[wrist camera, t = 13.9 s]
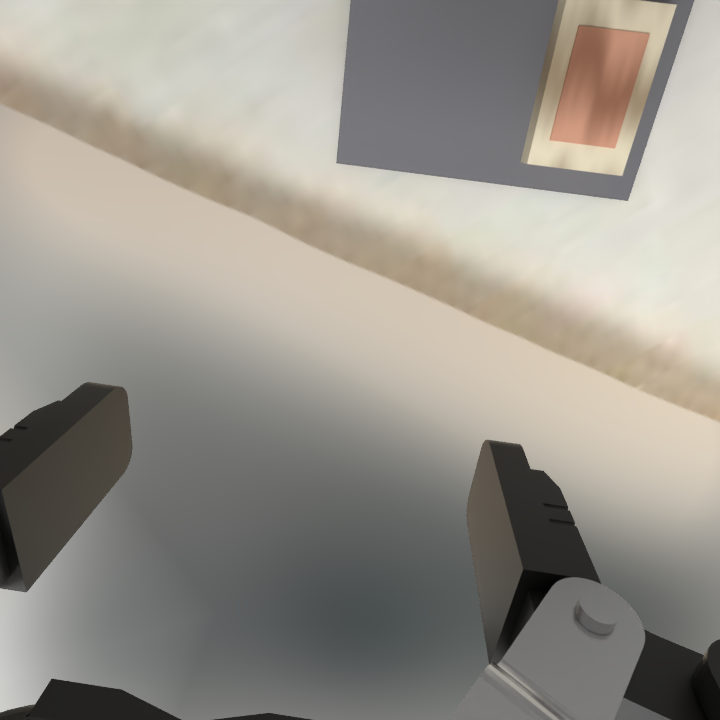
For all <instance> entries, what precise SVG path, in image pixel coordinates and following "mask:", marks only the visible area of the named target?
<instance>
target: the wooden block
mask: <svg viewBox="0 0 720 720" xmlns="http://www.w3.org/2000/svg"><path fill="white" fill-rule="evenodd" d="M676 6H677V5H675V4H667V3H658V2H650V1H641V0H558V5H557V9H556V13H555V17H554V22H553V26H552V30H551V34H550V39H549V43H548V47H547V51H546V56H545V60H544V64H543V68H542V73H541V77H540V81H539V86H538V90H537V94H536V98H535V103H534V107H533V111H532V115H531V120H530V124H529V128H528V132H527V137H526V141H525V145H524V149H523V154H522V158H521V162H522V163H526V164H531V165H539V166H547V167H555V168H563V169H571V170H578V171H586V172H594V173H602V174H610V175H618V176H622V175H623V172H624V169H625V166H626V163H627V159H628V156H629V153H630V150H631V147H632V144H633V141H634V138H635V134H636V131H637V128H638V125H639V122H640V119H641V116H642V113H643V109H644V106H645V103H646V100H647V97H648V94H649V91H650V87H651V84H652V81H653V78H654V75H655V72H656V69H657V66H658V62H659V59H660V56H661V53H662V50H663V47H664V44H665V41H666V37H667V34H668V31H669V28H670V25H671V22H672V19H673V15H674V12H675V9H676Z"/></svg>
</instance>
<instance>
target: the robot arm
mask: <svg viewBox="0 0 720 720" xmlns="http://www.w3.org/2000/svg"><path fill="white" fill-rule="evenodd" d="M131 454H132V437H131V427H130V416H129V406H128V397H127V393H126V391H125V389H124V388H123V387H118V386H112V385H104V384H98V383H90V382H87V383H84V384H83V385H81V386H80V387H79V388H77V389H76V390H75V391H74V392H72V393H71V394H70V395H69V396H67V397H66V398H65V399H64V400H62V401H56V402H54V403H51V404H49V405H47V406H44V407H42V408H40V409H37V410H35V411H33V412H32V413H30V414H29V415H28V416H26V417H25V418H24V419H22V420H21V421H20V422H18V423H17V424H16V425H15V426H14V429H11V428H10V429H9V430H8V431H7V432H5V433H4V434H3V435H1V436H0V588H2V589H8V590H15V591H22V592H27V591H28V590H29V589H30V587H31V586H32V585H33V584H34V582H35V581H36V580H37V579H38V578H39V576H40V575H41V574H42V573H43V571H44V570H45V569H46V568H47V567H48V565H49V564H50V563H51V562H52V560H53V559H54V558H55V557H56V555H57V554H58V553H59V552H60V551H61V549H62V548H63V547H64V546H65V545H66V543H67V542H68V541H69V540H70V538H71V537H72V536H73V535H74V534H75V532H76V531H77V530H78V529H79V527H80V526H81V525H82V524H83V522H84V521H85V520H86V519H87V518H88V516H89V515H90V514H91V513H92V511H93V510H94V509H95V508H96V507H97V505H98V504H99V503H100V502H101V500H102V499H103V498H104V497H105V496H106V494H107V493H108V492H109V491H110V489H111V488H112V487H113V486H114V485H115V483H116V482H117V481H118V480H119V478H120V477H121V476H122V475H123V473H124V472H125V470H126V469H127V466H128V464H129V462H130V458H131ZM574 524H575V522H574V520H573V517H572V515H571V513H570V511H568V506H567V503H566V501H565V499H564V496H563V494H562V492H561V490H560V488H559V487H558V486H557V485H556V484H555V483H554V482H553V481H552V479H551V478H550V477H549V476H548V475H547V474H546V473H545V472H544V471H540V470H532V469H530V466H529V464H528V461H527V458H526V456H525V453H524V450H523V448H522V446H521V445H520V444H513V443H506V442H499V441H492V440H485V441H484V443H483V445H482V448H481V451H480V456H479V459H478V463H477V467H476V470H475V474H474V478H473V482H472V485H471V490H470V493H469V498H468V505H467V526H468V532H469V538H470V545H471V551H472V557H473V564H474V571H475V577H476V583H477V590H478V596H479V602H480V609H481V615H482V622H483V628H484V634H485V641H486V647H487V653H488V659H489V665H488V666H487V668H486V669H485V670H484V671H483V673H482V674H481V675H480V677H479V678H478V679H477V681H476V682H475V684H474V685H473V686H472V688H471V689H470V691H469V692H468V693H467V695H466V696H465V698H464V699H463V701H462V702H461V703H460V705H459V706H458V708H457V709H456V711H455V712H454V713H453V715H452V716H451V717H450V719H449V720H720V640H717V641H715V642H714V643H712V644H711V645H710V647H709V648H708V650H707V652H706V653H705V655H702V654H699V653H697V652H695V651H692V650H690V649H687V648H685V647H682V646H680V645H678V644H675V643H673V642H671V641H668V640H666V639H663V638H661V637H659V636H656V635H654V634H652V633H650V632H648V631H646V630H644V628H643V625H642V623H641V621H640V619H639V617H638V615H637V614H636V612H635V611H634V610H633V609H632V607H631V606H630V605H629V604H628V603H627V602H626V601H625V600H624V599H623V598H622V597H620V596H619V595H618V594H617V593H615V592H613V591H612V590H611V589H609V588H607V587H605V586H604V585H602V584H601V582H600V580H599V578H598V575H597V573H596V571H595V569H594V566H593V564H592V561H591V559H590V557H589V554H588V552H587V550H586V547H585V545H584V543H583V540H582V538H581V536H580V533H579V531H578V529H577V527H576V526H574ZM0 720H181V719H179V718H176V717H175V716H173V715H170V714H169V713H167V712H165V711H163V710H161V709H159V708H157V707H155V706H153V705H151V704H149V703H147V702H145V701H143V700H141V699H139V698H137V697H135V696H133V695H131V694H129V693H127V692H125V691H123V690H120V689H114V688H107V687H100V686H95V685H88V684H82V683H75V682H69V681H63V680H56V679H51V681H50V682H49V684H48V685H47V687H46V689H45V690H44V692H43V693H42V695H41V696H40V698H39V699H38V701H37V703H36V704H35V705H29V706H24V707H19V708H15V709H11V710H7V711H4V712H1V713H0ZM215 720H310V719H303V718H297V717H291V716H285V715H278V714H272V713H265V714H257V715H248V716H240V717H232V718H224V719H215Z"/></svg>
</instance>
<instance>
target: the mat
mask: <svg viewBox="0 0 720 720" xmlns="http://www.w3.org/2000/svg"><path fill="white" fill-rule="evenodd" d="M641 1H650V2H658V3H667V4H675V5H677V6H676V9H675V12H674V15H673V19H672V22H671V25H670V28H669V31H668V34H667V37H666V41H665V44H664V47H663V50H662V53H661V56H660V59H659V62H658V66H657V69H656V72H655V75H654V78H653V81H652V84H651V87H650V91H649V94H648V97H647V100H646V103H645V106H644V109H643V113H642V116H641V119H640V122H639V125H638V128H637V131H636V134H635V138H634V141H633V144H632V147H631V150H630V153H629V156H628V159H627V163H626V166H625V169H624V172H623V175H622V176H618V175H610V174H602V173H594V172H586V171H578V170H571V169H563V168H555V167H547V166H539V165H531V164H526V163H522V162H521V158H522V154H523V149H524V145H525V141H526V137H527V132H528V128H529V124H530V120H531V115H532V111H533V107H534V103H535V98H536V94H537V90H538V86H539V81H540V77H541V73H542V68H543V64H544V60H545V56H546V51H547V47H548V43H549V39H550V34H551V30H552V26H553V22H554V17H555V13H556V9H557V5H558V0H351V4H350V16H349V27H348V38H347V50H346V61H345V72H344V84H343V95H342V106H341V118H340V129H339V140H338V152H337V163H339V164H347V165H355V166H363V167H370V168H378V169H386V170H393V171H401V172H409V173H417V174H424V175H432V176H440V177H448V178H455V179H463V180H471V181H479V182H486V183H494V184H502V185H509V186H517V187H525V188H533V189H540V190H548V191H556V192H564V193H571V194H579V195H587V196H594V197H602V198H610V199H618V200H625V201H628V199H629V196H630V193H631V190H632V187H633V184H634V181H635V178H636V175H637V172H638V169H639V166H640V163H641V160H642V156H643V153H644V150H645V147H646V144H647V141H648V138H649V135H650V132H651V129H652V126H653V123H654V120H655V117H656V114H657V111H658V108H659V105H660V102H661V99H662V96H663V93H664V90H665V87H666V84H667V81H668V78H669V75H670V72H671V69H672V66H673V63H674V60H675V57H676V54H677V51H678V48H679V45H680V42H681V39H682V36H683V33H684V30H685V27H686V24H687V21H688V18H689V15H690V12H691V8H692V5H693V2H694V0H641Z"/></svg>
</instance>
